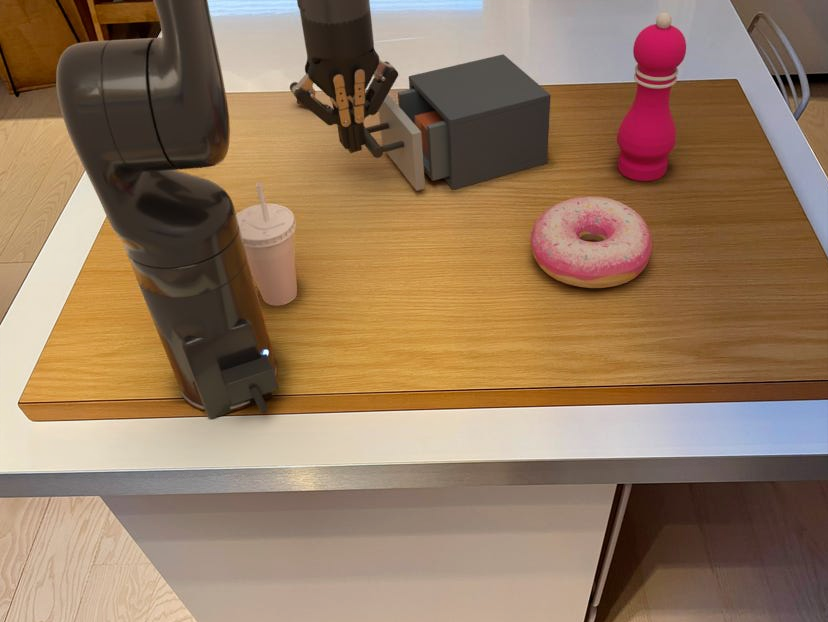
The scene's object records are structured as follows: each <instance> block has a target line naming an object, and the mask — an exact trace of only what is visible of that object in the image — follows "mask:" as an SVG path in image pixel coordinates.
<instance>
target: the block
mask: <svg viewBox="0 0 828 622" xmlns="http://www.w3.org/2000/svg"><path fill="white" fill-rule="evenodd" d="M414 117H415V125H416V127H417V128H418V129H419V130H420V131H421V136H422V151H423V154H424V156H425V157H426V158H427V159H428V160H429V152H428V136H427V125H430V124H434V123H437V122H441V121H445V120H444V119H443V118H442V117H441V116H440V115H439V113H438V112H437V111H436V110H435V111H431V112H427V113H423V114H419V115H415V116H414Z"/></svg>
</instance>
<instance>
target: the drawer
mask: <svg viewBox="0 0 828 622" xmlns="http://www.w3.org/2000/svg"><path fill="white" fill-rule="evenodd" d="M397 103H398V104H397ZM431 111H435V109H434V108H433V107H432V106H431V105H430V104H429V103H428V102H427V101H426V99H425V98H424V97H423V96H422V95H421V94H420V93H419V92H418V91H417V90H416V89H415V88H414V89H405V90H401V91H398V92H397V102H396V101H395V99H393V97H391V95H390V94H389V93H388V94H387V96H386V98H385V100H384V101H383V103H382V105H381V107H380V108H379V110H378V116H379V118H378V119H379V123H378V124H375V125H371V126H366V125H364V134H365V144H364V145H363V146H365V147H366V149H367V150H368V151H369V153H370V154H371V155H372V157H373V158H375V159H379V158H381V157H382V156H383V155H384V153H386V154H387V155H388V157H389V158H390V159H391V161H393V163H394V165H395V166H396V167H397V168H398V169H399V171H400V172H401V173H402V174H403V176H404V177H405V178H406V180H407V181H408V182H409V183H410V185H411V186H412V187H413V188H414V190H415V191H421V190H424V189H426V180H425V174H426V175H427V176H428V178H429V179H430V180H431V181H432V182H433V181H437V180H440V179H443V178H445V177H448V176H450V167H449V143H448V123H447V122H446V121H441V122H437V123H434V124H430V125H427V136H428V152H429V160H428V159H427V158H426V157H425V156H424V154H423V151H422V136H421V131H420V130H419V129H418V128H417V127H416V125H415V117H414V116H415V115H419V114H423V113H427V112H431ZM377 132H380V136H381V137H380V138H381V145H380V144H379V143H378V141H377V140H376V139H375V138H374V136H373V135H372V134H374V133H377Z"/></svg>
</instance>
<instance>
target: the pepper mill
mask: <svg viewBox="0 0 828 622" xmlns="http://www.w3.org/2000/svg"><path fill="white" fill-rule="evenodd" d="M672 23H673V18H672V15H671V14H670V13H669V12H666V11H664V12H661V13H658V15H657V16H656V18H655V23H654V24H650V25H648V26H646V27H644V28H643V29H642V30H641V31H640V32H639V33H638V34H637V36H636V37H635V41H634V43H633V47H632V53H633V59H634V61H635V62H636V63H637V64H636V65H635V67H634V72H635V73H634V74H633V80H634V81H635V82H636V93H635V98H634V100H633V103H632V104H631V106H630V108H629V110H628V111H627V113H626V114H625V116H624V117H623V119H622V121H621V123H620V125H619V127H618V132H617V135H616V142H617V146H618V148H619V149H620V151H619V154H618V157H617V158H618V159H617V170H618V172H619V173H620V174H621V175H622V176H624V177H625V178H627V179H629V180H632V181H637V182H653V181H656V180H659V179H661V178H662V177H664V175H665V174H666V173H667V170H668V169H667V168H668V163H669V156H668V155H669V154H671V152H672V151H673V149H674V148H675V145H676V138H677V132H676V125H675V122H674V118H673V115H672V112H671V108H670V97H671V96H670V95H671V89H672V86H674V85H675V84H676V83H677V81H678V77H677V76H678V75H679V69H678V67H679V66H680V65H681V64H682V63H683V61H684V59H685V57H686V53H687V41H686V37H685V35H684V34H683V33H682V31H681V30H680V29H679V28H677V26H674V25H672Z"/></svg>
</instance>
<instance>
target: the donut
mask: <svg viewBox="0 0 828 622" xmlns="http://www.w3.org/2000/svg"><path fill="white" fill-rule="evenodd" d="M646 222H647V221H645V220H644V219H643V217H642V216H641V215H640V214H639V213H638V212H636V211H635V209H633V208H631V207H630V206H628V205H626V204H625V203H623V202H620V201H617V200H615V199H612V198H608V197H604V196H593V195H591V196H578V197H573V198H570V199H567V200H563V201H561V202H559V203H557V204H554V205H552V206H550V207H549V208H547V209H546V210H545V211H544V212H542V214H541V215H540V216H539V217H538V218H537V220H536V221H535V223H534V225H533V227H532V229H531V232H530V249H531V253H532V256H533V257H534V259H535V261H536V262H537V264H538V267H540V269H542V271H544V272H545V273H546V274H547V275H548V276H550V277H551V278H553V279H554V280H555V281H558V282H561V283H563V284H567V285H570V286H574V287H579V288H585V289H586V288H588V289H602V288H603V289H604V288H610V287H616V286H617V287H618V286H620V285H622V284H626V283H628V282H630V281H632V280H634V279H635V278H637V277H638V276H639V275H640V273H642V272H643V271H644V269H645V268H646V267H647V265H648V263H649V261H650V259H651V255H652V254H651V253H652V246H653V242H652V235H651V232H650V230H649V227H648V225H647V223H646Z"/></svg>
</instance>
